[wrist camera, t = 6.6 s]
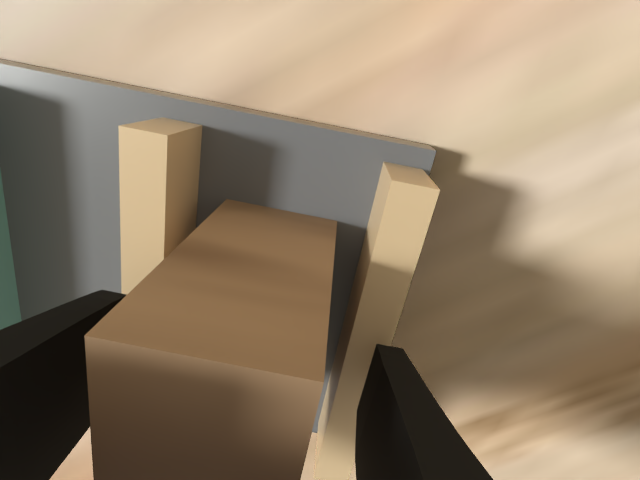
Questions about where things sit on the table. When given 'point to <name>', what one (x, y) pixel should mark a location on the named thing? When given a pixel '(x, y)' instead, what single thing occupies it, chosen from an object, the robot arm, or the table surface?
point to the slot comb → (202, 208)
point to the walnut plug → (216, 353)
